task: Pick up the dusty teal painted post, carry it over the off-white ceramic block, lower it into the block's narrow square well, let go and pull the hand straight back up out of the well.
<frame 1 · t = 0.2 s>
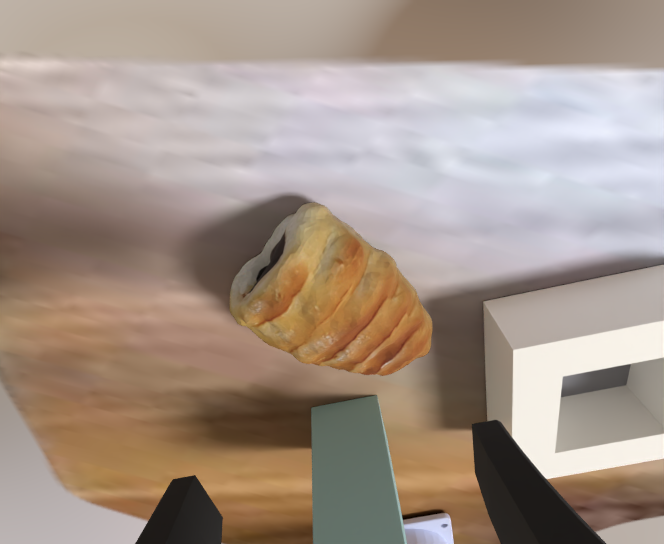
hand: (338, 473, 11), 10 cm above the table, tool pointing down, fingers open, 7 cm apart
pastry: (332, 279, 20), on the table
well: (577, 355, 23), on the table
post: (350, 422, 25), on the table
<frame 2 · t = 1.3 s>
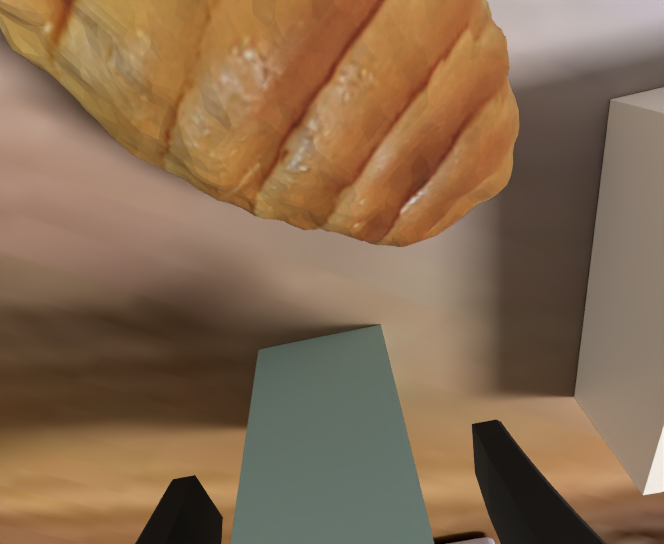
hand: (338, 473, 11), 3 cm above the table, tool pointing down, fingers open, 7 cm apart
pastry: (286, 26, 9), on the table
post: (332, 380, 14), on the table
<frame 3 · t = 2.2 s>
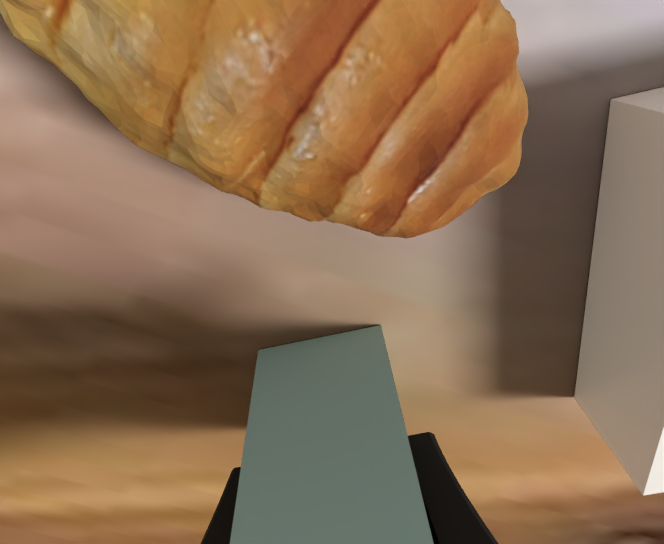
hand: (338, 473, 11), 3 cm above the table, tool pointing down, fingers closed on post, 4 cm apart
pastry: (290, 14, 9), on the table
post: (332, 381, 14), on the table, touching gripper
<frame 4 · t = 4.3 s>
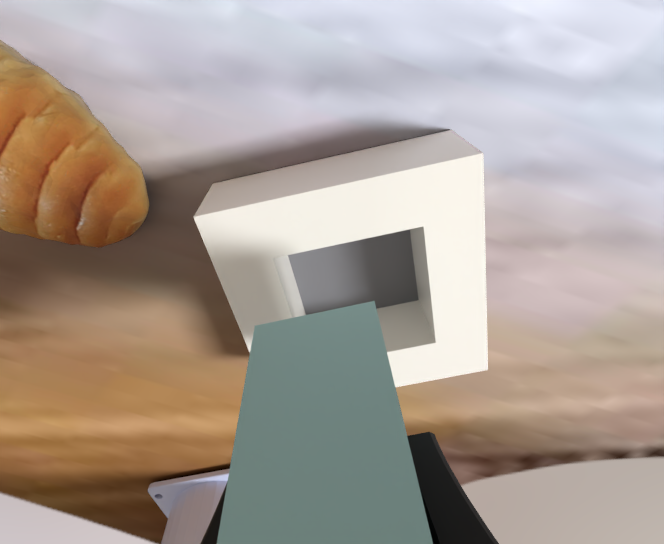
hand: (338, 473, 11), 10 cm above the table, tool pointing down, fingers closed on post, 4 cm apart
pastry: (26, 129, 16), on the table
well: (352, 260, 20), on the table
post: (327, 358, 14), point 7 cm above the table, touching gripper
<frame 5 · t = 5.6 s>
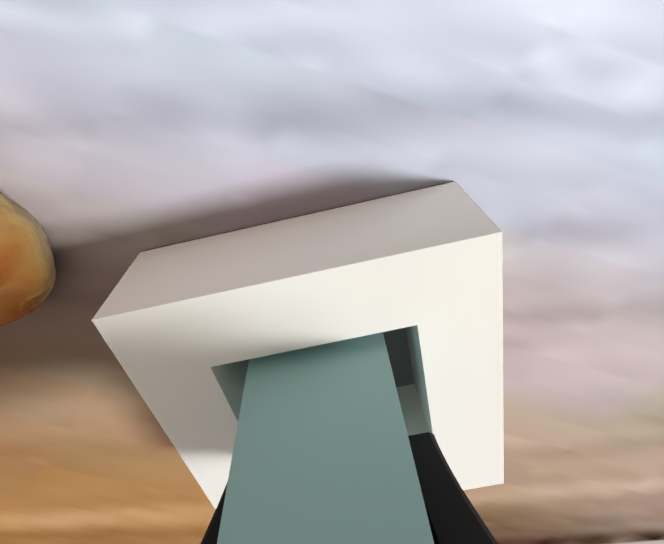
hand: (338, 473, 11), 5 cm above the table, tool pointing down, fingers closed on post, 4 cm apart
well: (329, 339, 15), on the table
post: (327, 357, 14), point 1 cm above the table, touching gripper
when the fingers open (5 cm above the table, at t = 6.6 s): post stays where it is, resting on well.
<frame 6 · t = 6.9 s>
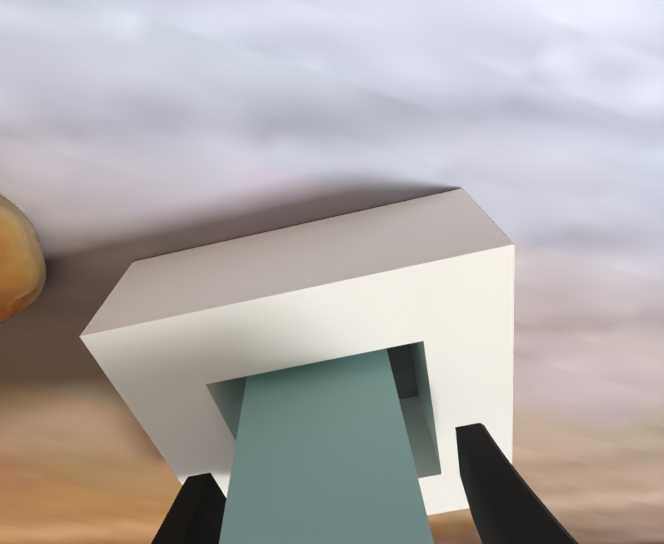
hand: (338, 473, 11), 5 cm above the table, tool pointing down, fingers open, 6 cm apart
well: (330, 350, 15), on the table
post: (327, 346, 14), resting on well
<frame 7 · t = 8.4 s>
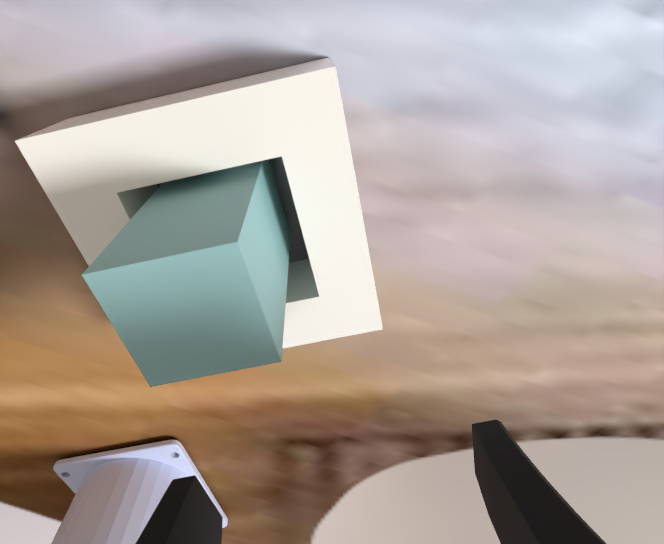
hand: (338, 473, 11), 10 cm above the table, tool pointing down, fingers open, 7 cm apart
well: (239, 211, 18), on the table
post: (235, 203, 18), resting on well
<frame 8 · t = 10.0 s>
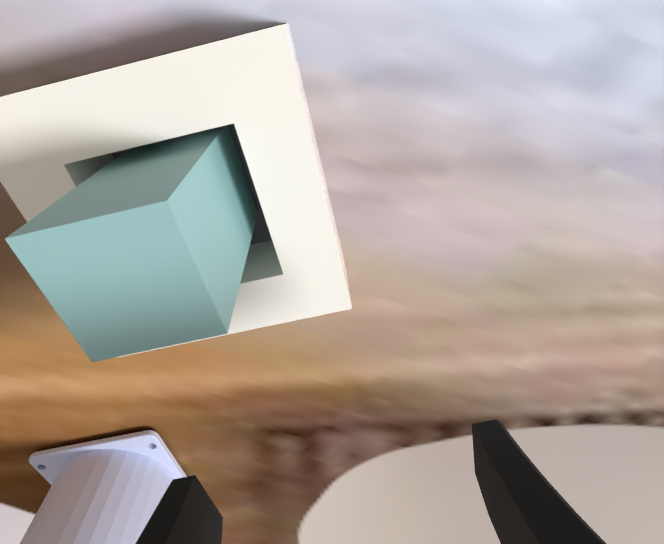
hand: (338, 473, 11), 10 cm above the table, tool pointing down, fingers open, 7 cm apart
well: (204, 189, 17), on the table
post: (198, 181, 17), resting on well
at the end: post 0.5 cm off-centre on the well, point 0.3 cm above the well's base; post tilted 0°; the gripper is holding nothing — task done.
